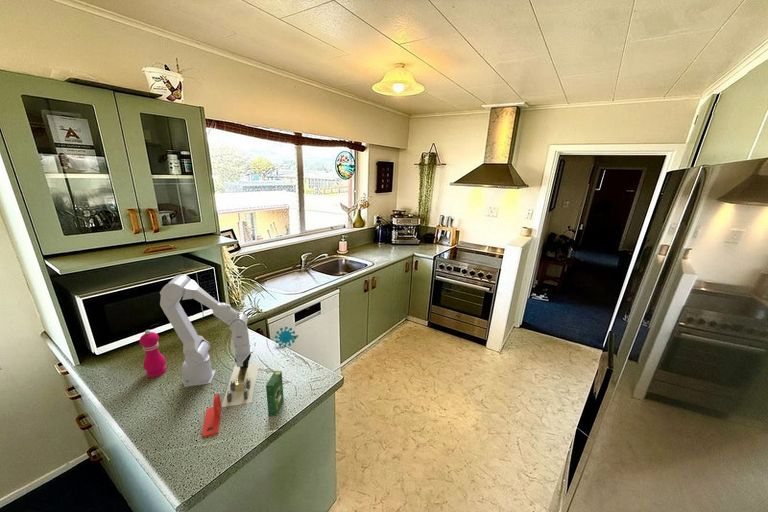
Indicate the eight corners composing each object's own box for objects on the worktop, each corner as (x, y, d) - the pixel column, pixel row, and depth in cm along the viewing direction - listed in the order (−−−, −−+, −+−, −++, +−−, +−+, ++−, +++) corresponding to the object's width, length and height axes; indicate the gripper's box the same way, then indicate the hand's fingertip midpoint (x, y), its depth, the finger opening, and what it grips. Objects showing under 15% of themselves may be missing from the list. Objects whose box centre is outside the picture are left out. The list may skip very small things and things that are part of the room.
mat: (221, 408, 104) (221, 407, 104) (234, 366, 125) (234, 366, 125) (251, 403, 107) (251, 402, 107) (259, 363, 128) (259, 362, 128)
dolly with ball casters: (227, 402, 106) (226, 394, 105) (232, 386, 114) (231, 379, 113) (247, 399, 108) (246, 391, 107) (250, 384, 115) (250, 377, 114)
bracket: (207, 411, 103) (204, 393, 101) (221, 407, 105) (218, 389, 102) (202, 439, 93) (198, 420, 90) (218, 434, 94) (215, 415, 92)
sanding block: (236, 392, 111) (235, 385, 110) (240, 374, 120) (240, 368, 119) (244, 390, 112) (243, 384, 111) (248, 373, 121) (247, 367, 120)
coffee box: (276, 398, 109) (274, 369, 106) (284, 399, 109) (282, 370, 106) (267, 416, 102) (264, 385, 98) (275, 416, 102) (273, 386, 98)
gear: (273, 347, 137) (275, 326, 142) (273, 349, 142) (275, 329, 147) (297, 346, 141) (299, 326, 145) (296, 349, 145) (298, 329, 150)
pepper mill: (171, 370, 122) (162, 328, 116) (152, 380, 116) (141, 337, 110) (161, 364, 125) (152, 323, 119) (141, 374, 118) (131, 332, 112)
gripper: (249, 351, 112) (252, 380, 116) (254, 331, 125) (257, 358, 129) (229, 354, 110) (233, 383, 114) (236, 333, 123) (240, 360, 127)
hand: (244, 370), depth 121 cm, fingers closed
